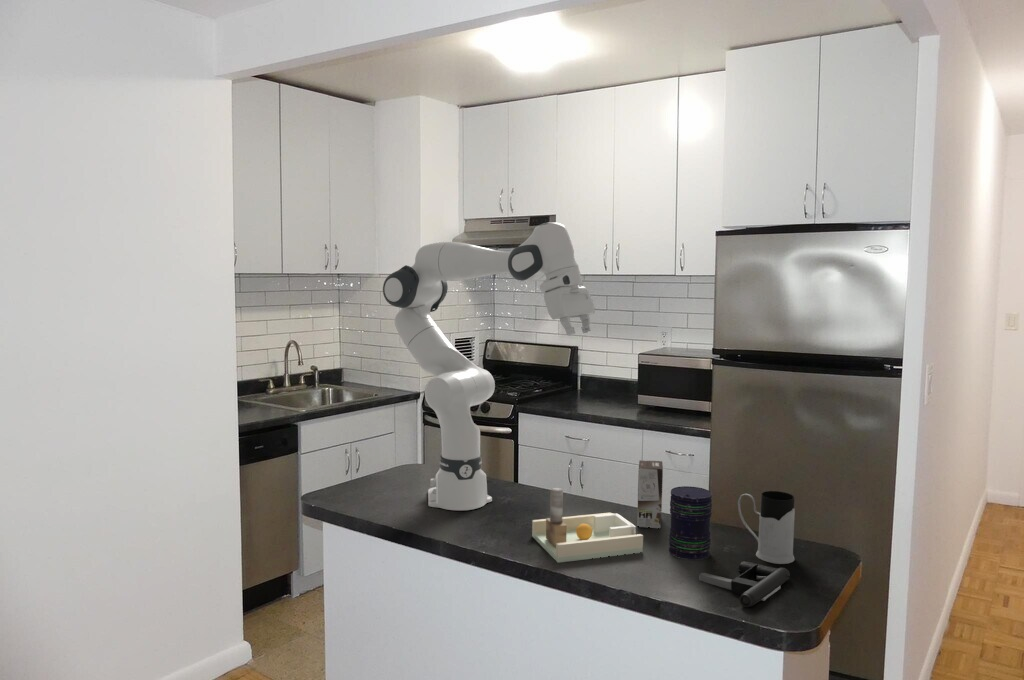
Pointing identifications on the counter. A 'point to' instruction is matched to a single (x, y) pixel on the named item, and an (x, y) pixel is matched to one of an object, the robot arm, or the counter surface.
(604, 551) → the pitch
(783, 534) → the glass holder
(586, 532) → the ball
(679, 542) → the storage jar
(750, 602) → the door handle
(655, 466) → the coffee box
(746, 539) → the counter surface
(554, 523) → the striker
